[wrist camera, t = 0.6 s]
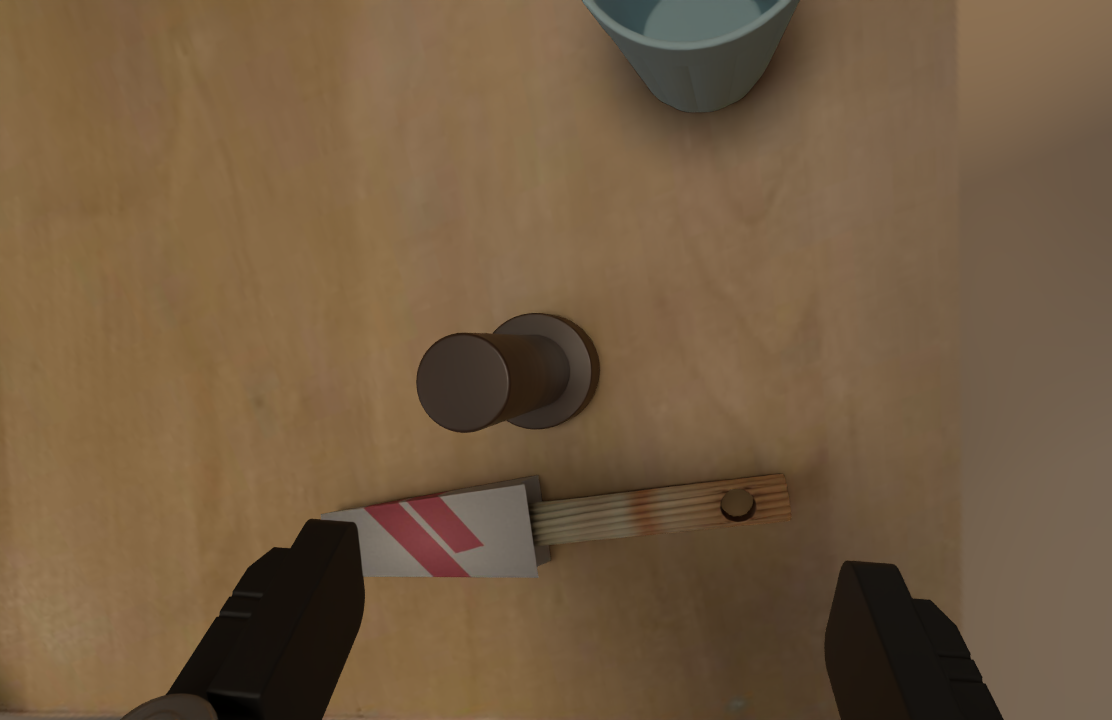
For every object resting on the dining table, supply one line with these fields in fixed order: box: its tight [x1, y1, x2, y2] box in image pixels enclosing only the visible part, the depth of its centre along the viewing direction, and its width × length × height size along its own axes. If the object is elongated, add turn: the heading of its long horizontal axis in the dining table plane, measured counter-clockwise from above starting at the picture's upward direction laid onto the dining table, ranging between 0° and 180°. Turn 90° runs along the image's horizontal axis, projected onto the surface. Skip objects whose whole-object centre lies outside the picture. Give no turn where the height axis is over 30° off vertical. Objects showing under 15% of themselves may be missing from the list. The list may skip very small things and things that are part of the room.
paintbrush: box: [321, 474, 791, 578], centre depth 33 cm, size 4×3×20 cm
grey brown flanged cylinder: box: [416, 313, 600, 433], centre depth 29 cm, size 5×5×11 cm
